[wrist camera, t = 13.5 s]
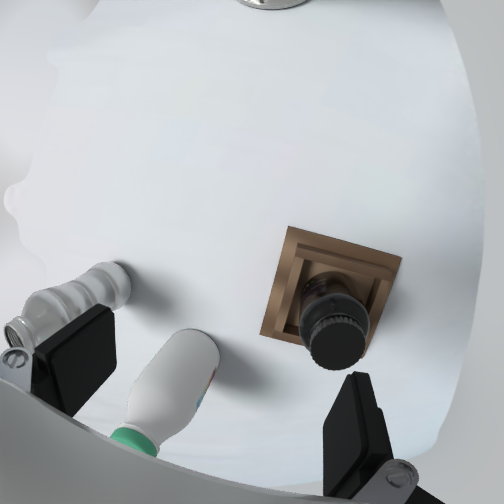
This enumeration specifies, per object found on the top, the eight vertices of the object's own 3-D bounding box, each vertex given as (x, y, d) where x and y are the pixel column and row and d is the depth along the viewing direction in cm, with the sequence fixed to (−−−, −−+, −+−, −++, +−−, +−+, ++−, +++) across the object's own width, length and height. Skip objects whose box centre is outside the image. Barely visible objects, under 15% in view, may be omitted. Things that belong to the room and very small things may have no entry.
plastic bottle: (120, 310, 41) (28, 381, 21) (92, 275, 40) (-9, 328, 21) (145, 286, 39) (44, 358, 20) (115, 248, 38) (2, 296, 19)
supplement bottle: (367, 293, 34) (394, 343, 22) (329, 332, 36) (337, 393, 24) (326, 257, 34) (338, 294, 22) (287, 299, 35) (280, 352, 24)
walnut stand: (288, 226, 34) (287, 230, 31) (399, 256, 33) (408, 263, 30) (259, 332, 38) (256, 344, 35) (361, 356, 36) (365, 369, 33)
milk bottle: (161, 331, 40) (79, 421, 21) (209, 322, 38) (140, 427, 19) (181, 376, 41) (120, 473, 22) (228, 370, 40) (181, 482, 20)
